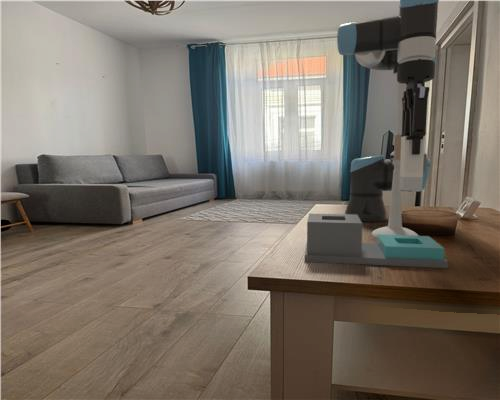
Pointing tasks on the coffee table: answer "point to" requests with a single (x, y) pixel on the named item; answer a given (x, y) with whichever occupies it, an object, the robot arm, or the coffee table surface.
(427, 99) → the robot arm
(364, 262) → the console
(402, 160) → the plug
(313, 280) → the coffee table surface
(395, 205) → the candlestick
